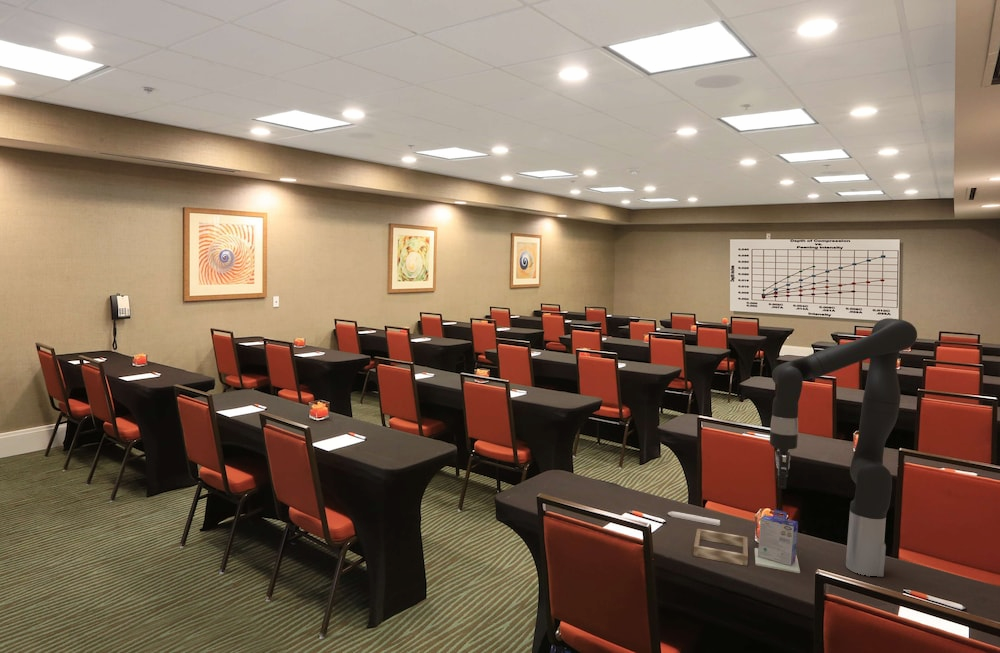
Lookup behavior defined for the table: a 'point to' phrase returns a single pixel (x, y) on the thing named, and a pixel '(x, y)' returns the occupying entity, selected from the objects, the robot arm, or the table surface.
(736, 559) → the maple sleeve
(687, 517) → the marker
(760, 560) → the sage pad
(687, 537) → the table surface
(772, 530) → the ink cartridge box
